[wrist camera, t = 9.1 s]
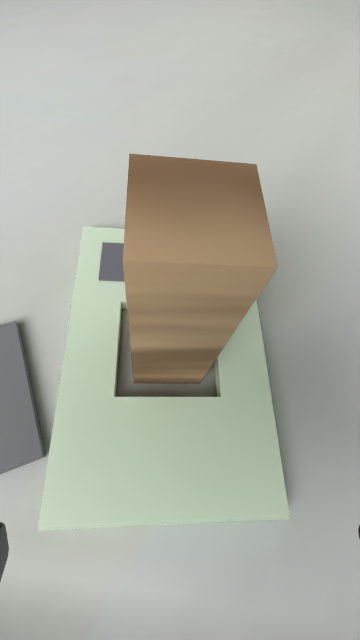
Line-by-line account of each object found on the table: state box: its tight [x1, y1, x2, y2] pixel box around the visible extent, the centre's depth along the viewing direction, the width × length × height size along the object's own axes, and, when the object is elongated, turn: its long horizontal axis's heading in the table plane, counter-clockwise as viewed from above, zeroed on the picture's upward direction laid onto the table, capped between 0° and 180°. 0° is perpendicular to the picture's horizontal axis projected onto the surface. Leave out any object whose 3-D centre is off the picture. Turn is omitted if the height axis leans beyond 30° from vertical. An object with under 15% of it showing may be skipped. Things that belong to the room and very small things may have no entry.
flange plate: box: [37, 226, 290, 531], centre depth 19 cm, size 18×12×1 cm, turn 2°
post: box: [123, 154, 277, 383], centre depth 14 cm, size 4×4×12 cm
